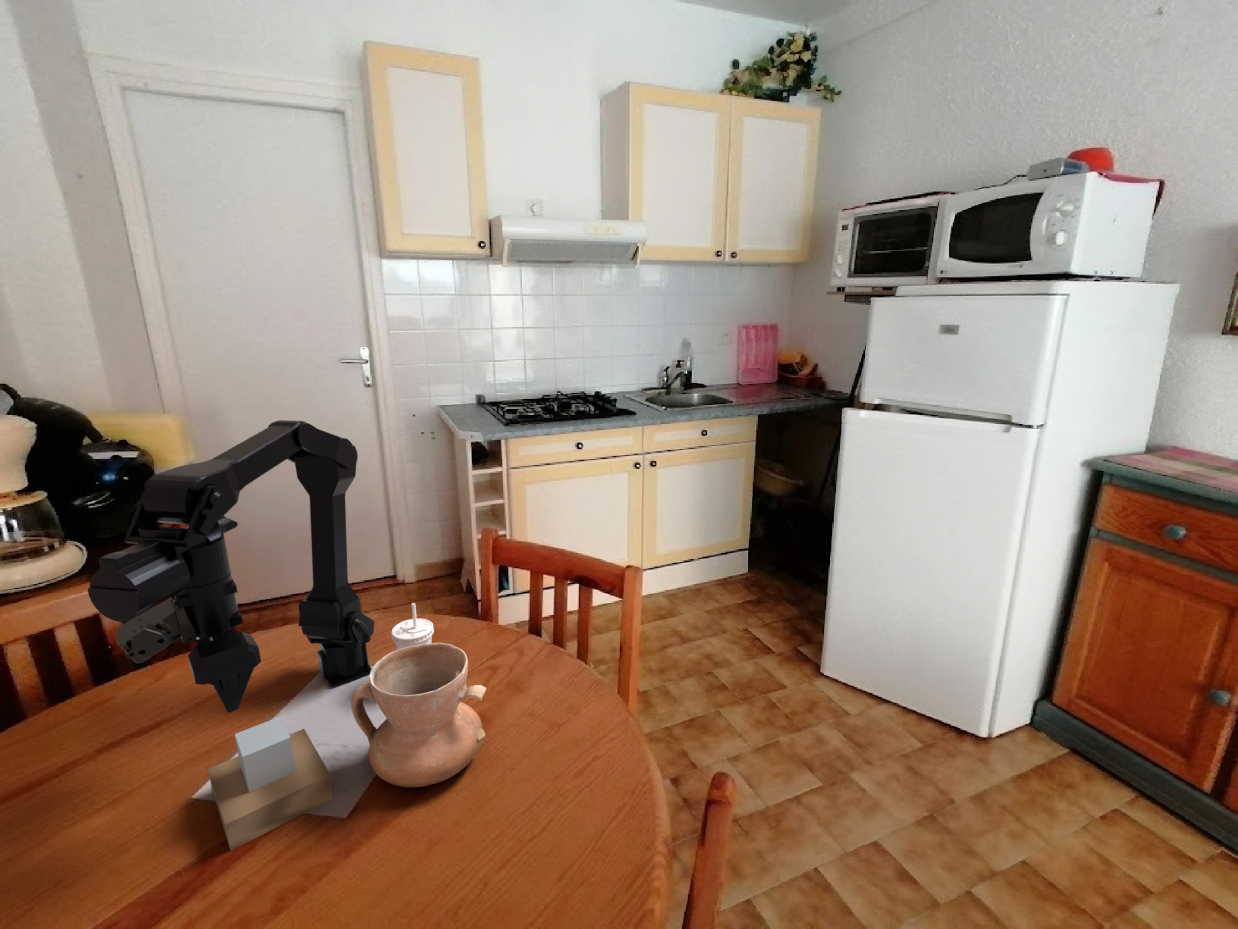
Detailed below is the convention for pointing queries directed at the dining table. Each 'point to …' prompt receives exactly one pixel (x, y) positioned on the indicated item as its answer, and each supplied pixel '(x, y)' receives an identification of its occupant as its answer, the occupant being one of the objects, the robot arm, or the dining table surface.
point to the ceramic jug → (420, 715)
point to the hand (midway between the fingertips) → (225, 692)
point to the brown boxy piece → (269, 793)
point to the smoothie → (412, 631)
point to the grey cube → (265, 753)
